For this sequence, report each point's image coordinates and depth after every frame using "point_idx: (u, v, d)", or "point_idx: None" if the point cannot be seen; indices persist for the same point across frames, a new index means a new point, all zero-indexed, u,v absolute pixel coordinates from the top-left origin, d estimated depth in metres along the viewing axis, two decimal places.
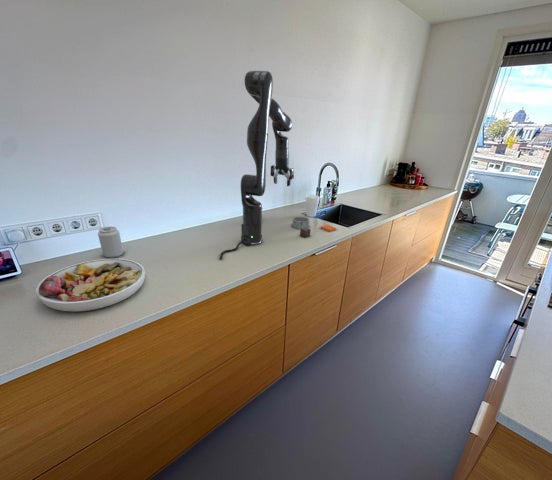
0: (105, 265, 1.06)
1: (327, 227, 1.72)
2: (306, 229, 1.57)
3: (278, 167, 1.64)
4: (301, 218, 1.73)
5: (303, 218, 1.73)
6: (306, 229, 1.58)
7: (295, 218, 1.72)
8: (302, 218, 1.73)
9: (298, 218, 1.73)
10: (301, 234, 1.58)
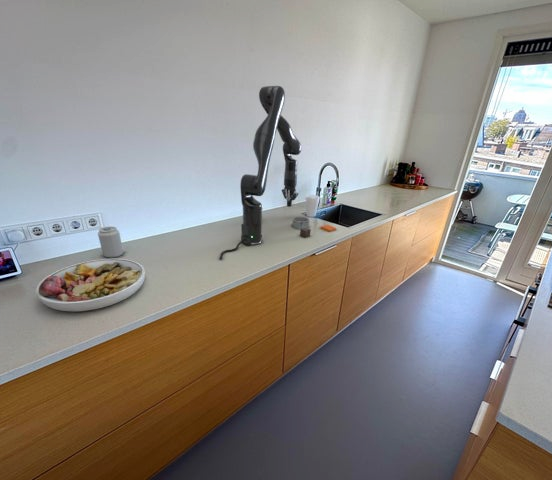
0: (105, 265, 1.06)
1: (327, 227, 1.72)
2: (306, 229, 1.57)
3: (286, 187, 1.72)
4: (301, 218, 1.73)
5: (303, 218, 1.73)
6: (306, 229, 1.58)
7: (295, 218, 1.72)
8: (302, 218, 1.73)
9: (298, 218, 1.73)
10: (301, 234, 1.58)
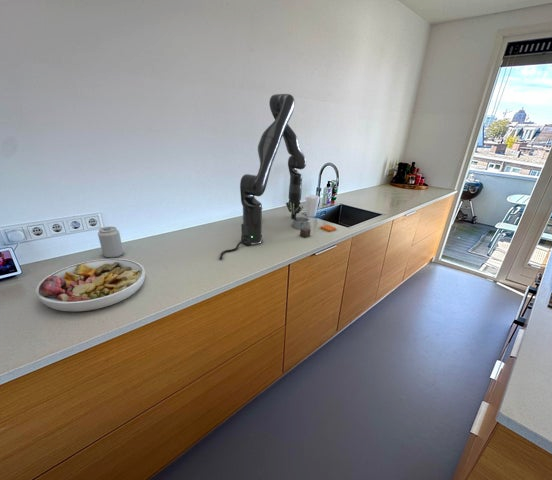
0: (105, 265, 1.06)
1: (327, 227, 1.72)
2: (306, 229, 1.57)
3: (291, 201, 1.72)
4: (302, 218, 1.73)
5: (303, 218, 1.73)
6: (306, 229, 1.58)
7: (295, 218, 1.72)
8: (303, 218, 1.73)
9: (298, 218, 1.72)
10: (301, 234, 1.58)
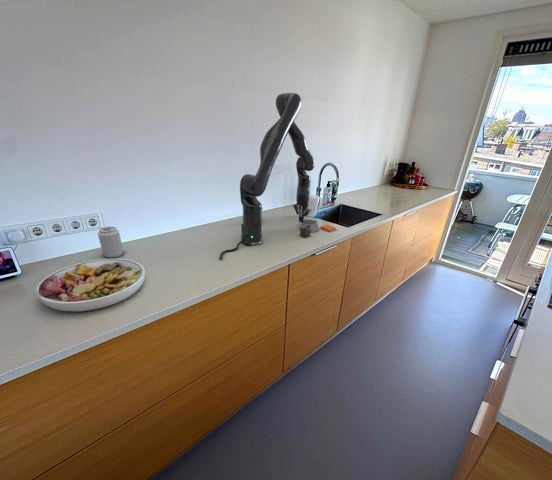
0: (105, 265, 1.06)
1: (327, 227, 1.72)
2: (306, 229, 1.57)
3: (299, 203, 1.68)
4: (310, 221, 1.69)
5: (311, 221, 1.69)
6: (306, 229, 1.58)
7: (303, 221, 1.68)
8: (311, 221, 1.69)
9: (306, 221, 1.69)
10: (301, 234, 1.58)
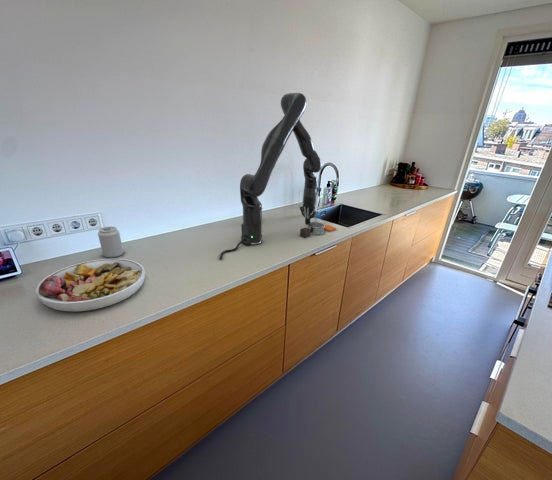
0: (105, 265, 1.06)
1: (327, 227, 1.72)
2: (306, 229, 1.57)
3: (305, 205, 1.65)
4: (316, 223, 1.66)
5: (318, 223, 1.66)
6: (306, 229, 1.58)
7: (310, 223, 1.65)
8: (317, 223, 1.66)
9: (313, 223, 1.65)
10: (301, 234, 1.58)
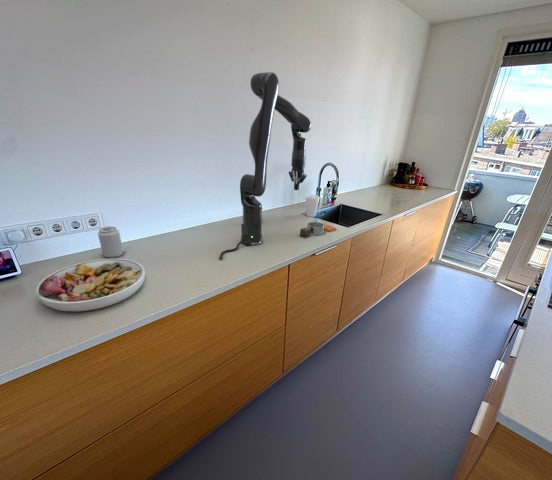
0: (105, 265, 1.06)
1: (327, 227, 1.72)
2: (306, 229, 1.57)
3: (294, 169, 1.60)
4: (316, 224, 1.66)
5: (318, 223, 1.66)
6: (306, 229, 1.58)
7: (310, 223, 1.65)
8: (317, 223, 1.66)
9: (313, 223, 1.65)
10: (301, 234, 1.58)
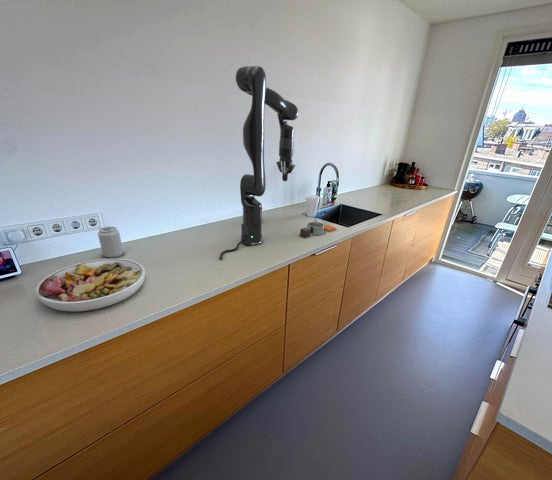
0: (105, 265, 1.06)
1: (327, 227, 1.72)
2: (306, 229, 1.57)
3: (282, 159, 1.54)
4: (316, 224, 1.66)
5: (318, 223, 1.66)
6: (306, 229, 1.58)
7: (310, 223, 1.65)
8: (317, 223, 1.66)
9: (313, 223, 1.65)
10: (301, 234, 1.58)
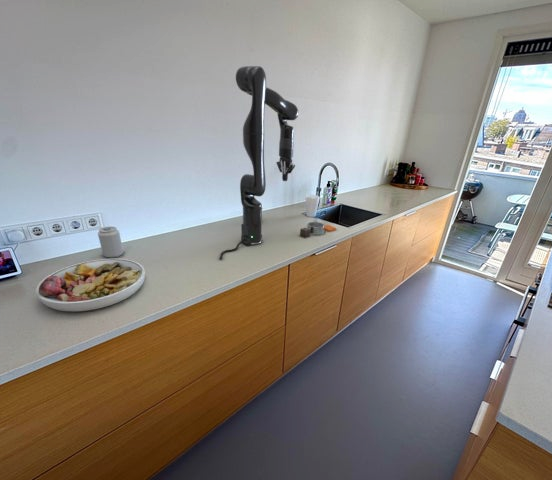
0: (105, 265, 1.06)
1: (327, 227, 1.72)
2: (306, 229, 1.57)
3: (282, 159, 1.54)
4: (316, 224, 1.66)
5: (318, 223, 1.66)
6: (306, 229, 1.58)
7: (310, 223, 1.65)
8: (317, 223, 1.66)
9: (313, 223, 1.65)
10: (301, 234, 1.58)
